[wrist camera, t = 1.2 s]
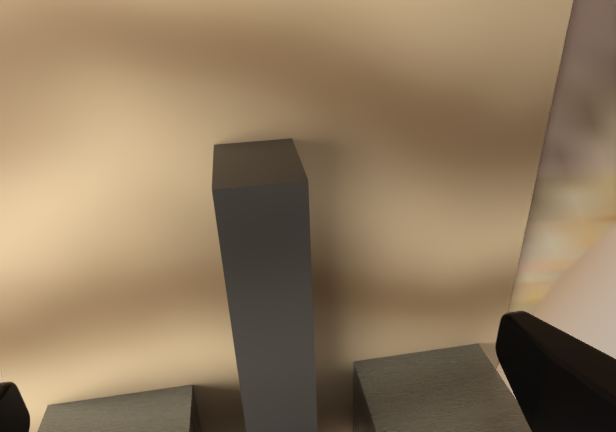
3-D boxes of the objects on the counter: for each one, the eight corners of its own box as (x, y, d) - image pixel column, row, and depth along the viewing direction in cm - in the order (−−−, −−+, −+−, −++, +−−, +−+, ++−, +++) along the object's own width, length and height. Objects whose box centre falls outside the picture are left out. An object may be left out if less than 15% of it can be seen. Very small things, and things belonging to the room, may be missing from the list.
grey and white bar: (328, 515, 23) (343, 593, 20) (247, 530, 22) (251, 612, 19) (319, 135, 14) (344, 180, 11) (184, 147, 13) (174, 196, 11)
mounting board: (456, 488, 25) (466, 511, 24) (102, 552, 23) (97, 580, 22) (596, -270, 11) (634, -292, 10) (-261, -287, 9) (-323, -318, 8)
